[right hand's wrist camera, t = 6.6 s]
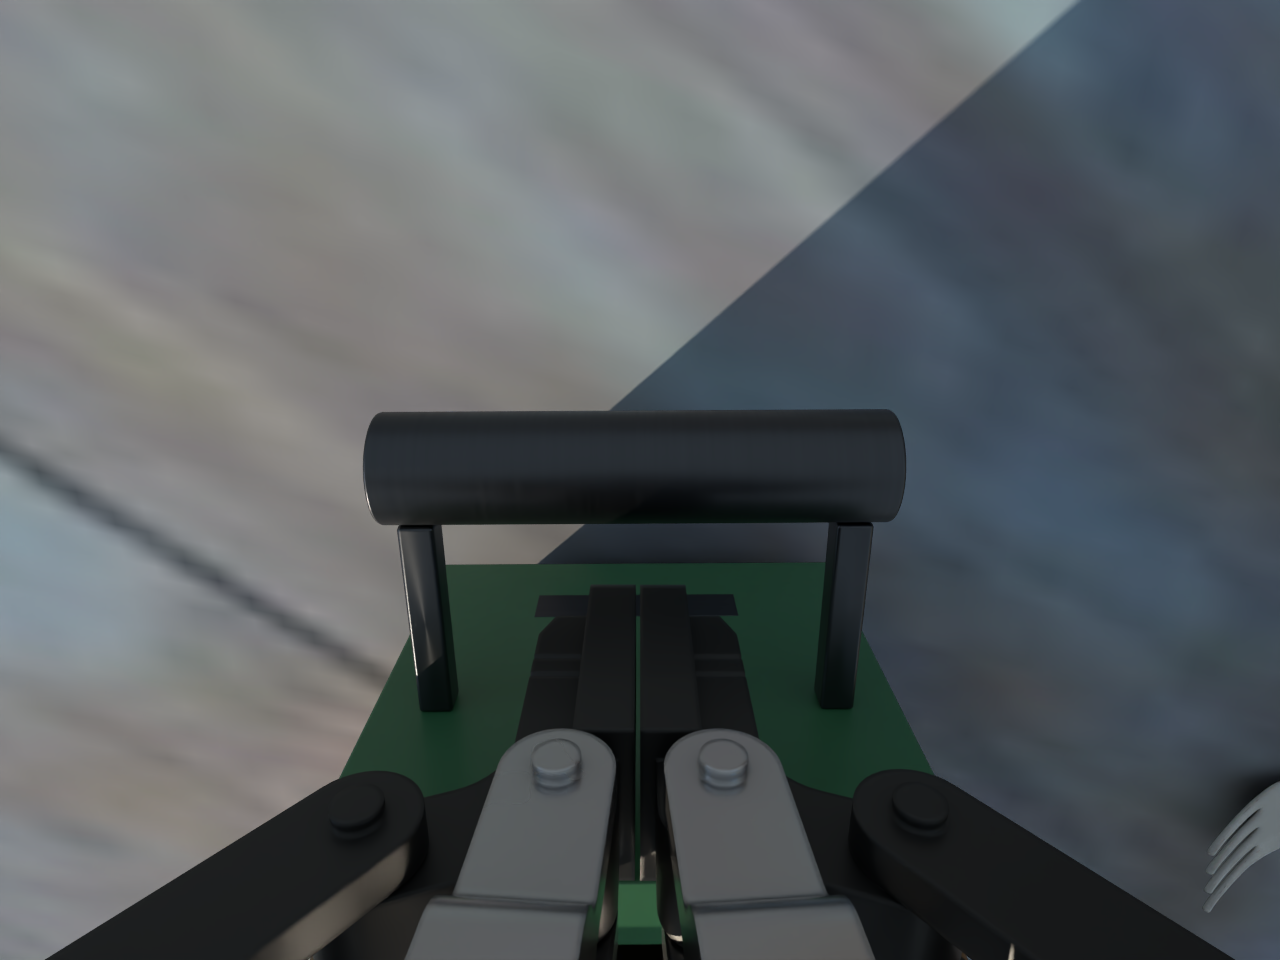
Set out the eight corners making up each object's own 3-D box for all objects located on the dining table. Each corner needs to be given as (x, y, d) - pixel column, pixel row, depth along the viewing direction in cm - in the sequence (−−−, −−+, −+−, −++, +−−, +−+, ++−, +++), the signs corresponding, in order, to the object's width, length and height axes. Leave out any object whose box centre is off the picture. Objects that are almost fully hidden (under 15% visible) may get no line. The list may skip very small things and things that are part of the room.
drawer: (421, 344, 17) (202, 514, 9) (848, 342, 17) (1064, 510, 9) (488, 986, 25) (407, 1433, 16) (789, 983, 25) (875, 1428, 16)
